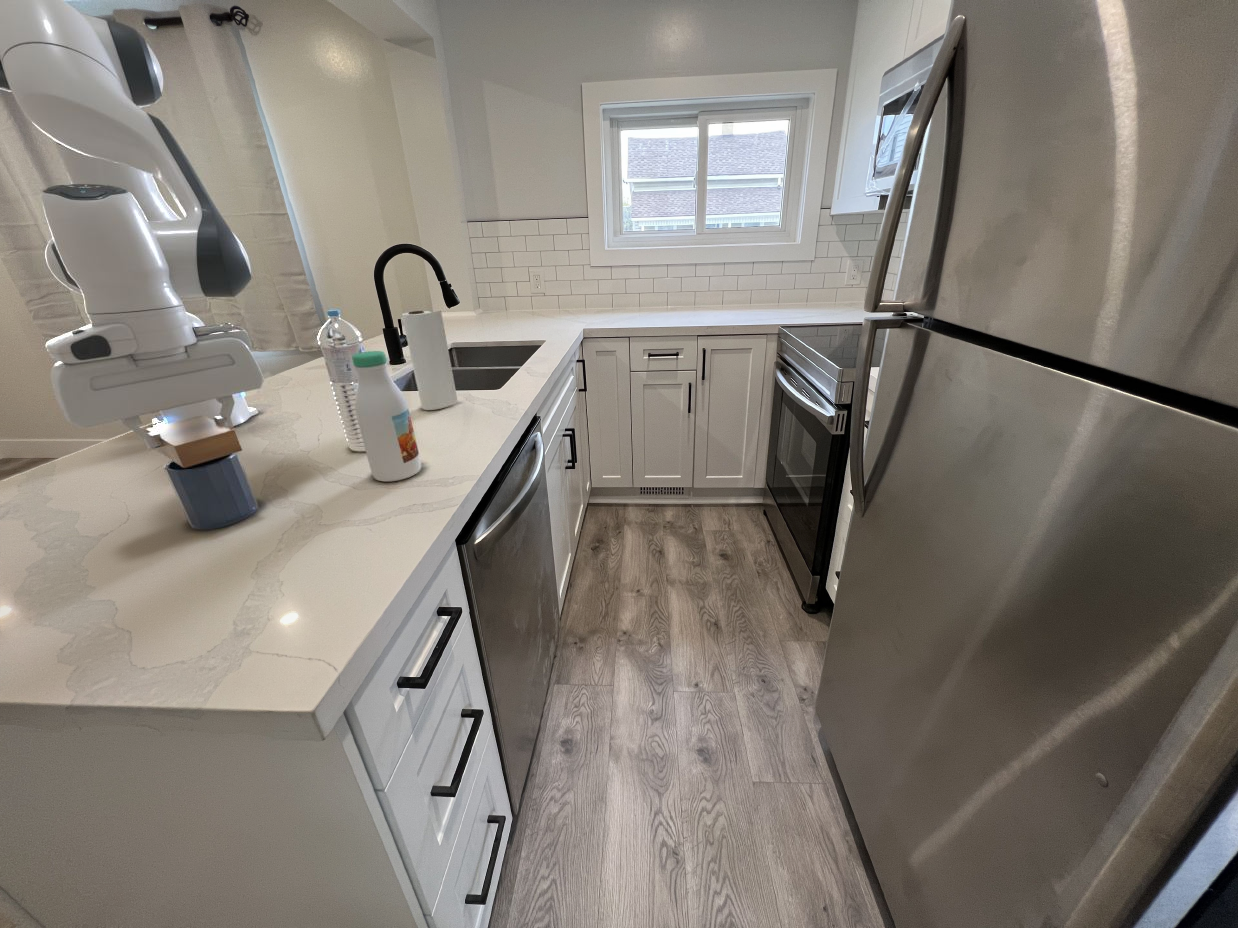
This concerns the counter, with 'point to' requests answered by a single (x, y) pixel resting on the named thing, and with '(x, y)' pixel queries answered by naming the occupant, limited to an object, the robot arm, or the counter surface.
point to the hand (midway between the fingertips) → (192, 437)
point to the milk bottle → (384, 420)
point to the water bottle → (343, 371)
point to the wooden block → (196, 440)
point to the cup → (213, 492)
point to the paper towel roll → (430, 359)
